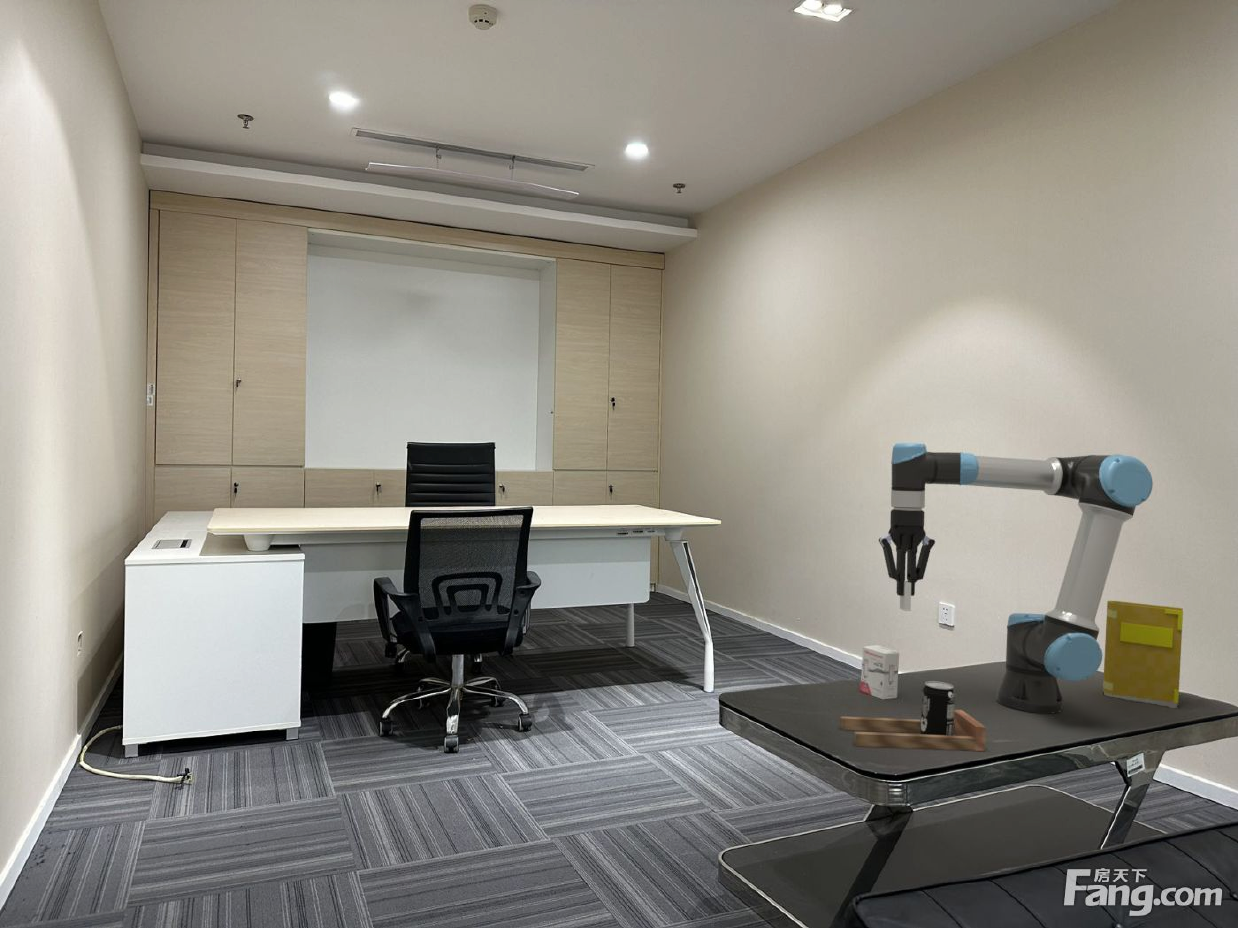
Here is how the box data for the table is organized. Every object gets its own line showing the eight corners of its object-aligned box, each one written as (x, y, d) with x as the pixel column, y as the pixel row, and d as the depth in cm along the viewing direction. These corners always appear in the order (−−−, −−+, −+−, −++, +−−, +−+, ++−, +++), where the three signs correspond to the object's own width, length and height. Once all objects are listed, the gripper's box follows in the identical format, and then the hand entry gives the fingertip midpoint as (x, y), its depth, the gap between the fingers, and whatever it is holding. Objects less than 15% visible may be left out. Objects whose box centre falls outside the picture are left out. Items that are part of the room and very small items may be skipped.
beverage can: (914, 734, 187) (917, 680, 187) (943, 735, 188) (946, 680, 188) (929, 745, 180) (932, 688, 180) (958, 745, 181) (961, 688, 181)
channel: (960, 732, 190) (961, 709, 190) (984, 750, 178) (985, 727, 178) (839, 727, 190) (840, 704, 190) (855, 745, 178) (856, 721, 178)
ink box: (859, 690, 222) (861, 645, 222) (873, 689, 224) (875, 644, 224) (883, 700, 214) (885, 652, 214) (897, 698, 216) (900, 651, 216)
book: (1177, 703, 224) (1182, 608, 224) (1178, 708, 219) (1183, 611, 218) (1103, 691, 233) (1108, 599, 233) (1102, 696, 228) (1106, 602, 227)
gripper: (927, 508, 205) (925, 606, 205) (874, 507, 204) (872, 606, 204) (941, 510, 197) (939, 612, 197) (886, 509, 196) (883, 612, 196)
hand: (905, 609), depth 201 cm, fingers closed
